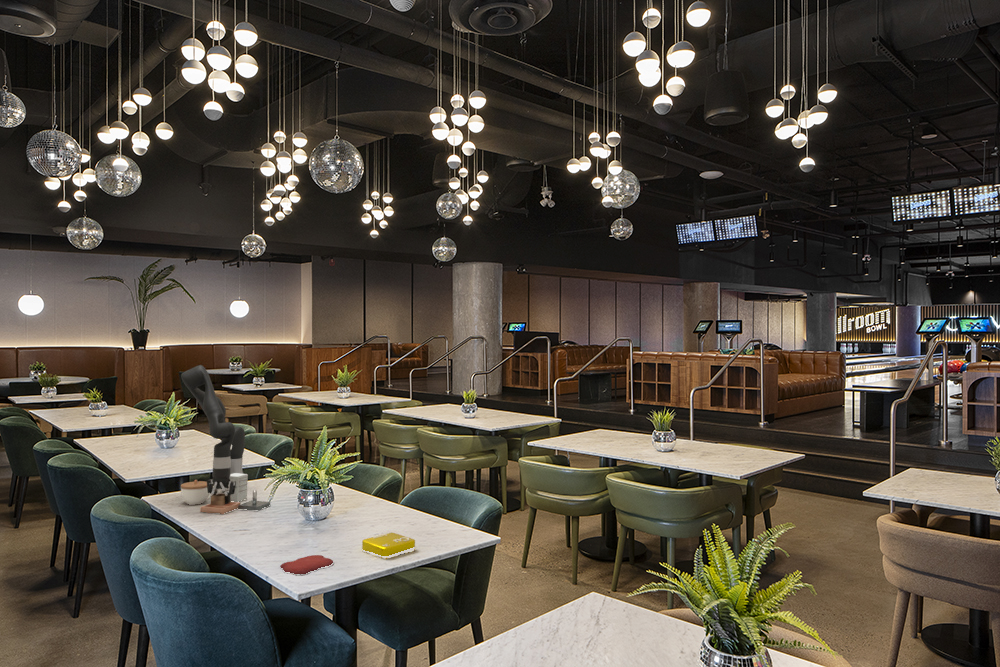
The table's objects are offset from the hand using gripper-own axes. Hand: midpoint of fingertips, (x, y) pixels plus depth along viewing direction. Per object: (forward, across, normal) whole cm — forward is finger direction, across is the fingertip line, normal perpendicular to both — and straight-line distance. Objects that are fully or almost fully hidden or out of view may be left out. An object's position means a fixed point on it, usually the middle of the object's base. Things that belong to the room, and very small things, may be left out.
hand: (220, 503), depth 287 cm
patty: (+4, +76, -55) cm, 94 cm away
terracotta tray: (+3, 0, 0) cm, 3 cm away
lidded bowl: (+3, -20, +8) cm, 22 cm away
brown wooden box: (0, 0, 0) cm, 0 cm away
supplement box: (+3, -5, +18) cm, 19 cm away
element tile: (+4, +96, -32) cm, 102 cm away
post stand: (+3, +12, +8) cm, 15 cm away
